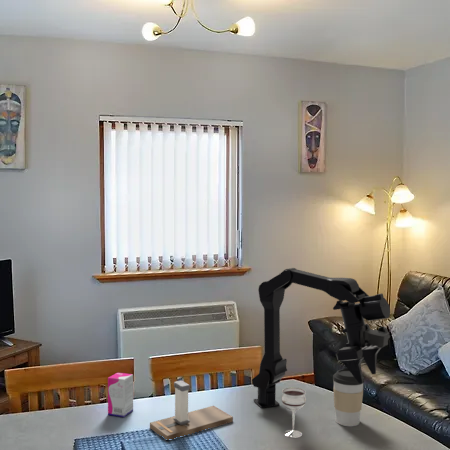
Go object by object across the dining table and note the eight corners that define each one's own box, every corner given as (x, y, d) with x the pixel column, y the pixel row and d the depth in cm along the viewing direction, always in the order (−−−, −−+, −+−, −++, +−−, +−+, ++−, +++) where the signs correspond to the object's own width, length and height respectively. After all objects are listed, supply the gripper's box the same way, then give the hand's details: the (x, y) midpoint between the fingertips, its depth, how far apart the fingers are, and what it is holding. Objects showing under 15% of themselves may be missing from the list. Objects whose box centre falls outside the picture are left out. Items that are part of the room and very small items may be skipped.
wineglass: (308, 431, 152) (309, 389, 151) (301, 441, 146) (302, 397, 145) (285, 426, 155) (286, 385, 154) (277, 436, 149) (278, 393, 148)
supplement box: (133, 410, 165) (133, 373, 165) (124, 418, 160) (124, 380, 159) (117, 407, 167) (117, 371, 166) (107, 415, 162) (107, 377, 161)
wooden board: (213, 410, 166) (213, 405, 166) (232, 421, 158) (232, 416, 158) (149, 427, 153) (149, 422, 153) (167, 441, 145) (167, 435, 145)
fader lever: (182, 417, 156) (182, 380, 155) (190, 422, 152) (190, 384, 152) (173, 419, 154) (173, 382, 154) (180, 425, 151) (181, 386, 150)
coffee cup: (363, 429, 154) (365, 377, 153) (331, 426, 155) (332, 375, 155) (362, 416, 162) (363, 367, 162) (331, 413, 164) (332, 365, 163)
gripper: (367, 325, 140) (381, 386, 138) (393, 313, 155) (406, 367, 153) (329, 330, 147) (343, 388, 145) (358, 318, 161) (370, 370, 160)
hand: (367, 378), depth 150 cm, fingers open, 9 cm apart
